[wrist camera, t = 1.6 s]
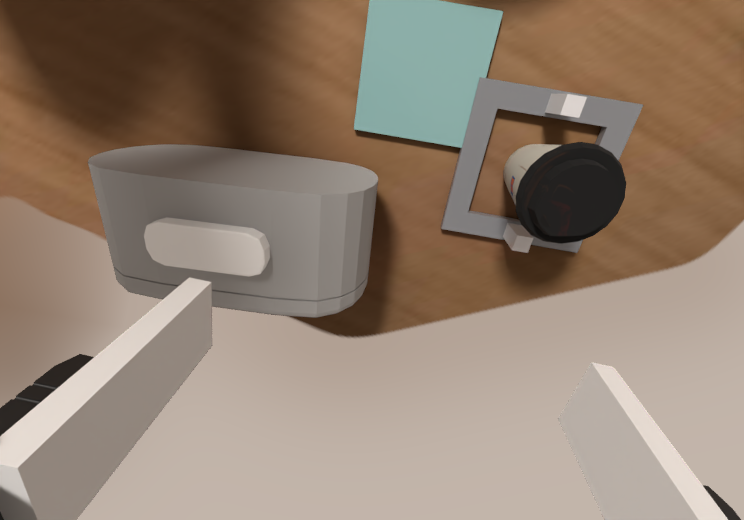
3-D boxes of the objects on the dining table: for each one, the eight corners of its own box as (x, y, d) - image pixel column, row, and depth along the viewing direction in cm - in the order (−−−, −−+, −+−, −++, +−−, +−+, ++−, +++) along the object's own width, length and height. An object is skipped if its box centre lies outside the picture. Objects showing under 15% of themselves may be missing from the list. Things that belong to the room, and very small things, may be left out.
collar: (478, 77, 29) (488, 75, 25) (637, 104, 29) (670, 106, 25) (440, 226, 35) (444, 241, 31) (573, 249, 34) (593, 267, 31)
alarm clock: (180, 233, 38) (72, 299, 26) (166, 139, 34) (30, 166, 21) (373, 257, 37) (356, 338, 25) (383, 164, 33) (369, 207, 21)
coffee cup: (549, 111, 30) (610, 120, 21) (585, 179, 32) (656, 213, 23) (474, 162, 32) (501, 190, 23) (513, 222, 34) (551, 270, 25)
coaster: (371, -9, 27) (371, -11, 27) (501, 12, 27) (503, 11, 26) (354, 128, 32) (353, 129, 31) (466, 147, 31) (467, 148, 31)
